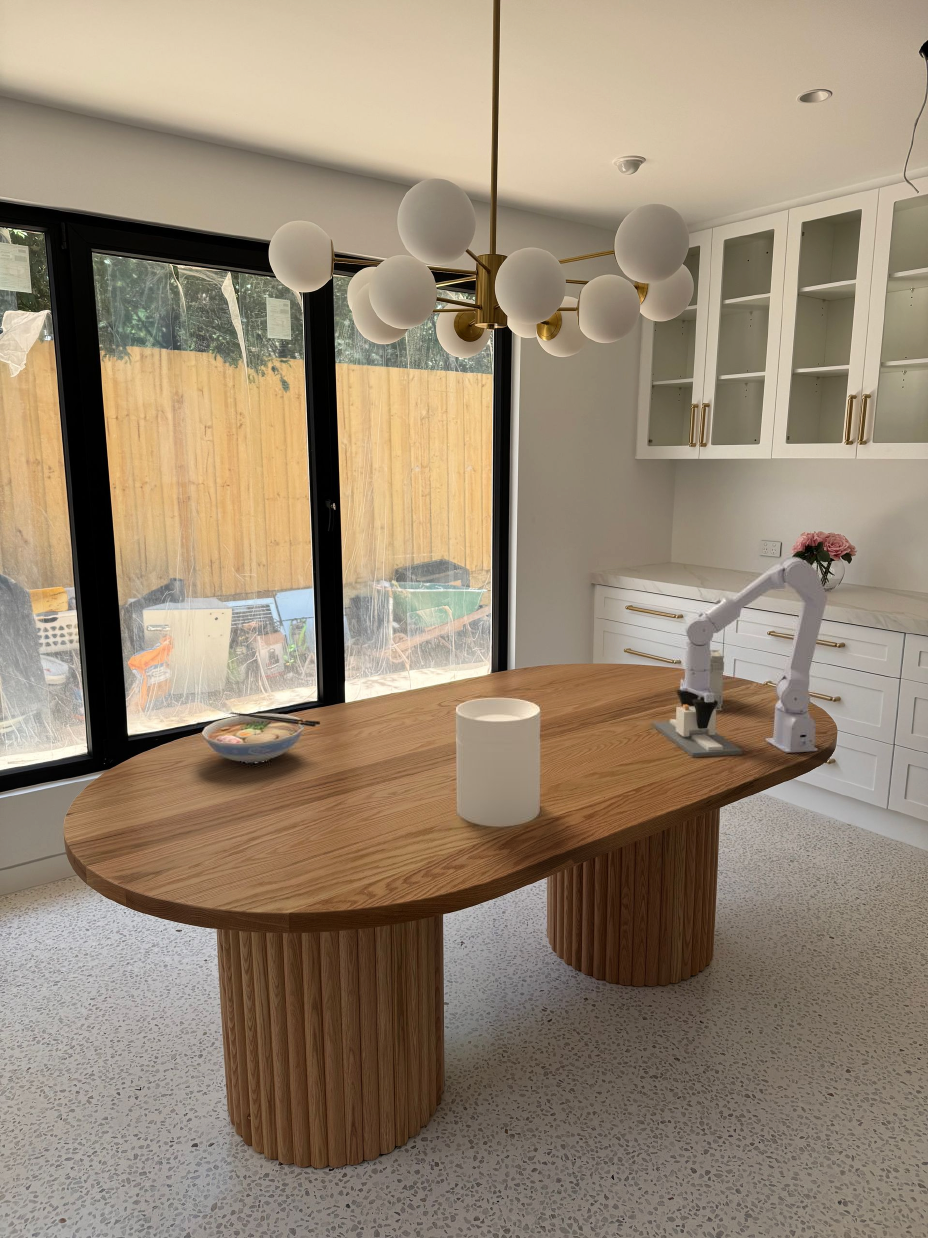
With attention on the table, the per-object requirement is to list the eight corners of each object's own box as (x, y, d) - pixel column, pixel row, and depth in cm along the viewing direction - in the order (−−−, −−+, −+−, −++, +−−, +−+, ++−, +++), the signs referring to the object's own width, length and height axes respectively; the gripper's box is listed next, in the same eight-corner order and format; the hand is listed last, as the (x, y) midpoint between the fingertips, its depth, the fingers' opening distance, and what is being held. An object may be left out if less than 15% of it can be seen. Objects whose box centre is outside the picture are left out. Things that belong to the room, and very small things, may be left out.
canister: (556, 809, 158) (558, 708, 155) (500, 834, 147) (499, 727, 144) (496, 787, 169) (496, 693, 166) (439, 809, 158) (438, 709, 155)
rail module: (714, 734, 197) (716, 706, 196) (683, 736, 196) (684, 708, 194) (706, 729, 201) (707, 701, 200) (675, 731, 200) (676, 703, 199)
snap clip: (702, 733, 197) (702, 728, 197) (693, 733, 197) (693, 729, 196) (697, 729, 200) (697, 724, 200) (687, 730, 200) (687, 725, 199)
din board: (741, 754, 188) (742, 746, 187) (692, 757, 186) (692, 749, 186) (696, 723, 211) (697, 716, 211) (652, 726, 209) (652, 719, 209)
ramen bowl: (177, 766, 183) (175, 731, 182) (246, 737, 203) (244, 705, 202) (266, 784, 172) (264, 746, 171) (330, 751, 193) (328, 717, 191)
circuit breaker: (711, 696, 237) (713, 645, 234) (721, 710, 223) (724, 656, 220) (685, 695, 238) (687, 645, 235) (693, 709, 224) (695, 655, 221)
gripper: (669, 662, 202) (667, 715, 204) (694, 676, 188) (692, 733, 190) (696, 661, 203) (694, 714, 205) (723, 675, 189) (721, 731, 191)
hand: (695, 723), depth 198 cm, fingers open, 7 cm apart
